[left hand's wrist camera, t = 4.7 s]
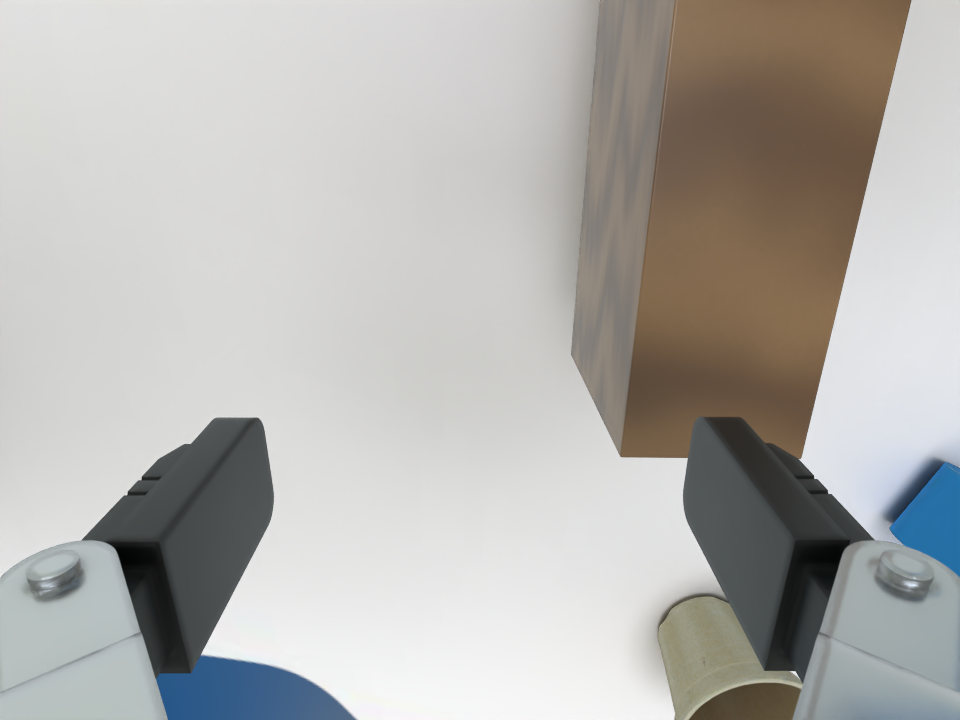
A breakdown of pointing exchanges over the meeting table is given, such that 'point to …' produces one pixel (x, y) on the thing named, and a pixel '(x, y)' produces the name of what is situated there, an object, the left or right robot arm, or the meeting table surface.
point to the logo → (934, 519)
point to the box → (723, 208)
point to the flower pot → (720, 667)
